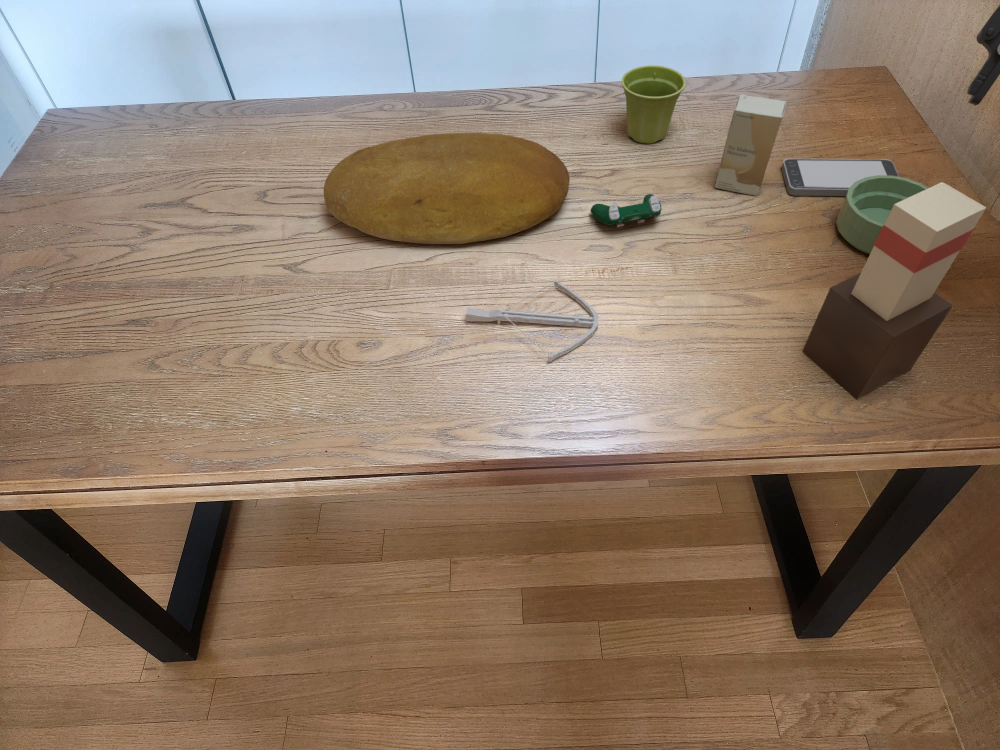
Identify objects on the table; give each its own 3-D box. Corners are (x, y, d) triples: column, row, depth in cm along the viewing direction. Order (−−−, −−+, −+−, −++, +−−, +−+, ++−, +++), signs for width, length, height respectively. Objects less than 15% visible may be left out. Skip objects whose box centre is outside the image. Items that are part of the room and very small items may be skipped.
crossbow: (597, 292, 85) (599, 281, 83) (595, 369, 77) (597, 358, 75) (473, 283, 86) (473, 271, 84) (459, 357, 78) (458, 346, 76)
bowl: (946, 241, 85) (965, 209, 81) (883, 273, 82) (899, 241, 79) (877, 197, 92) (891, 165, 88) (815, 225, 89) (827, 193, 85)
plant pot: (679, 119, 107) (687, 66, 100) (675, 152, 101) (683, 98, 95) (621, 116, 109) (625, 63, 102) (613, 148, 103) (618, 95, 96)
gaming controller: (593, 233, 94) (604, 228, 88) (588, 206, 93) (599, 199, 87) (655, 221, 94) (670, 215, 88) (651, 194, 94) (666, 186, 88)
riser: (910, 369, 73) (953, 305, 65) (856, 399, 71) (893, 336, 63) (854, 324, 78) (887, 259, 70) (801, 351, 76) (830, 287, 68)
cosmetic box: (713, 189, 95) (731, 109, 86) (719, 172, 98) (737, 92, 88) (759, 197, 93) (783, 116, 84) (764, 179, 96) (787, 99, 86)
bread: (335, 181, 102) (318, 121, 95) (562, 162, 102) (563, 100, 94) (321, 260, 91) (299, 199, 83) (576, 239, 90) (578, 176, 82)
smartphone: (782, 158, 97) (891, 159, 95) (780, 164, 98) (888, 165, 96) (790, 188, 92) (905, 190, 90) (788, 195, 93) (902, 197, 91)
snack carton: (931, 298, 66) (987, 207, 57) (886, 321, 64) (937, 232, 56) (894, 271, 69) (942, 181, 60) (850, 293, 67) (893, 203, 58)
